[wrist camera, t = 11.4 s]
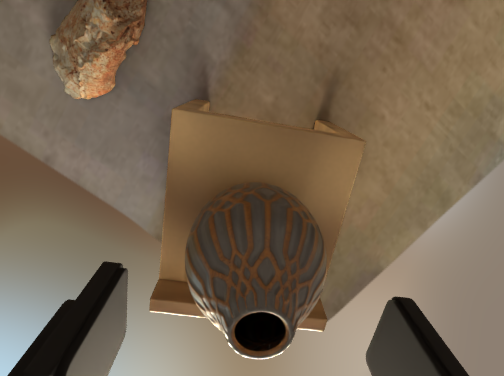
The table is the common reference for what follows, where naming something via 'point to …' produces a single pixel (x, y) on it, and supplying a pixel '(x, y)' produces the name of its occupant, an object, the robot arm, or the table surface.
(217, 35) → the table surface
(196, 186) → the shelf
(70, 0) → the table surface
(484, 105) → the table surface
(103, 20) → the brown rock
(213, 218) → the vase
